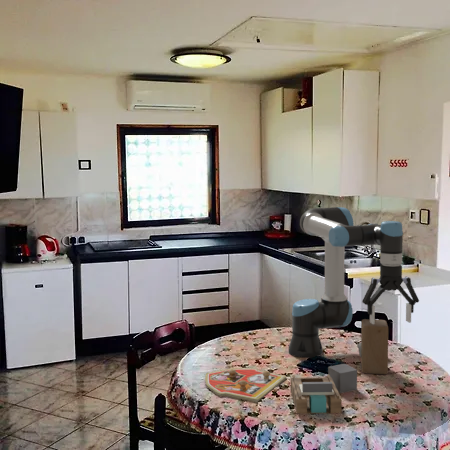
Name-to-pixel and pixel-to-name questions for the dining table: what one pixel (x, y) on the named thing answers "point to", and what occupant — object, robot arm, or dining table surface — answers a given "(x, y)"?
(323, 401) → the block
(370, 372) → the wooden block
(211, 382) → the knob puzzle
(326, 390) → the lid
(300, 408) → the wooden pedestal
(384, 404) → the dining table surface
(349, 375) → the stand
